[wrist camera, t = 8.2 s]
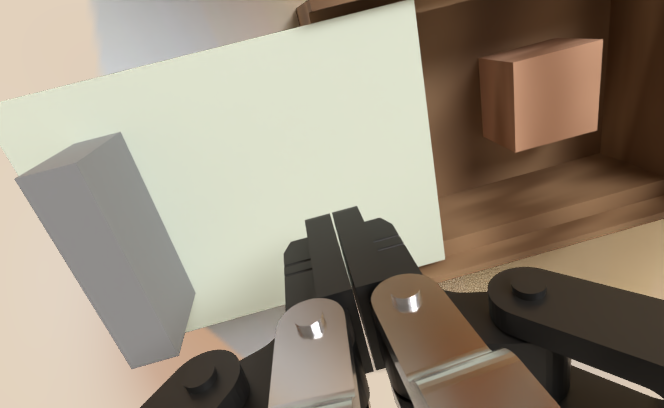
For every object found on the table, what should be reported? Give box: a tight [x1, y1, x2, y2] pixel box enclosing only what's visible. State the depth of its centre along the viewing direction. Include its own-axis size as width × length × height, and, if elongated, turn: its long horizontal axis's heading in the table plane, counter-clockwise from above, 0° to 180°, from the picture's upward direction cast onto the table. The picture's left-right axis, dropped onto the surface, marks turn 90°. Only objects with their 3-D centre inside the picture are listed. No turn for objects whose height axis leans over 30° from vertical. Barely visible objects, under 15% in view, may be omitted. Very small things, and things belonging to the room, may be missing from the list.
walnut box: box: [296, 0, 664, 283], centre depth 18 cm, size 16×12×6 cm
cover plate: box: [0, 0, 445, 369], centre depth 14 cm, size 14×11×4 cm
